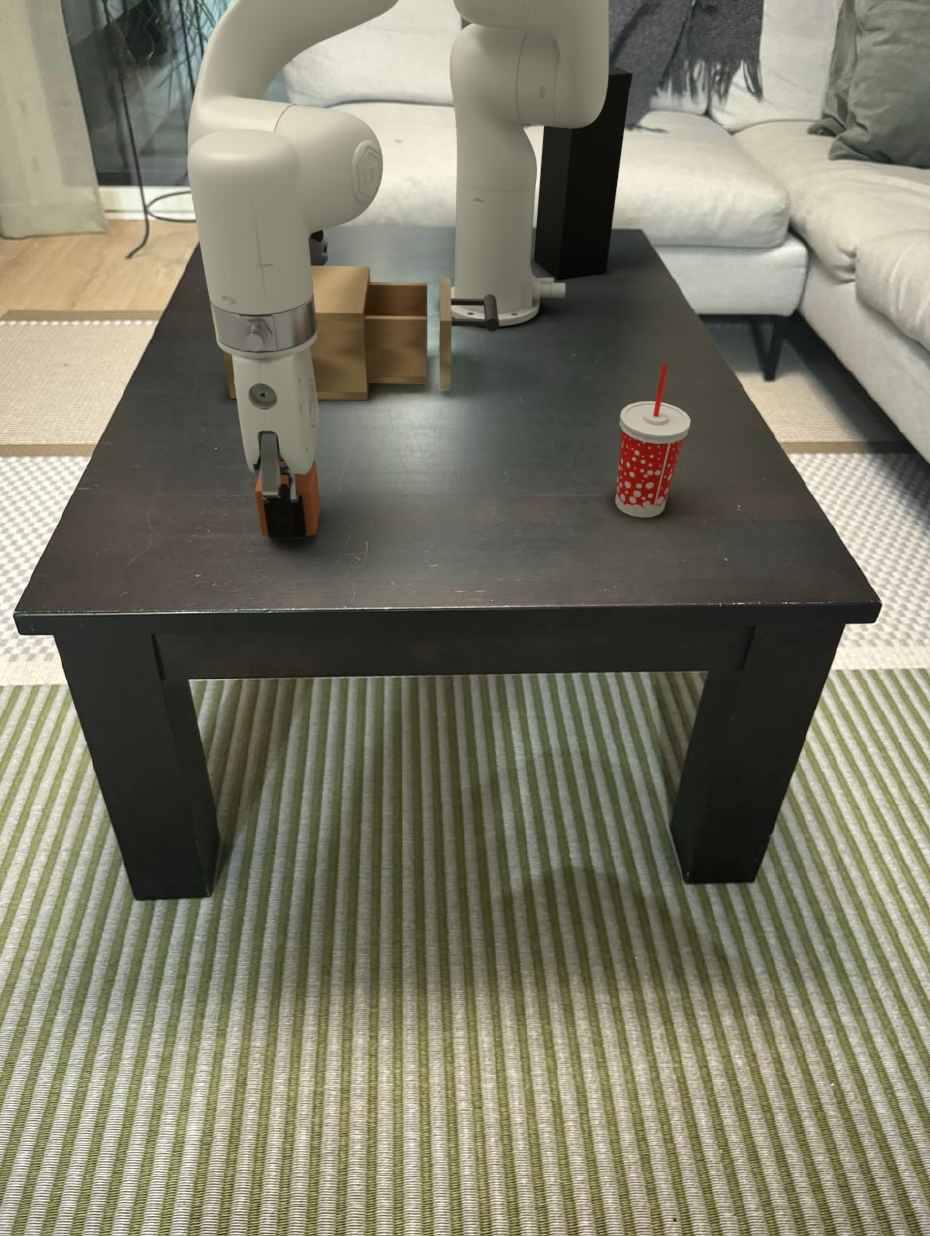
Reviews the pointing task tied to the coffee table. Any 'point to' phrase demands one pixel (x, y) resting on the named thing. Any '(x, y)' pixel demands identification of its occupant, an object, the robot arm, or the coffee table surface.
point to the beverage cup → (649, 453)
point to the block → (305, 489)
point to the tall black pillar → (581, 187)
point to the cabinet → (335, 334)
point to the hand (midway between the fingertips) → (291, 515)
